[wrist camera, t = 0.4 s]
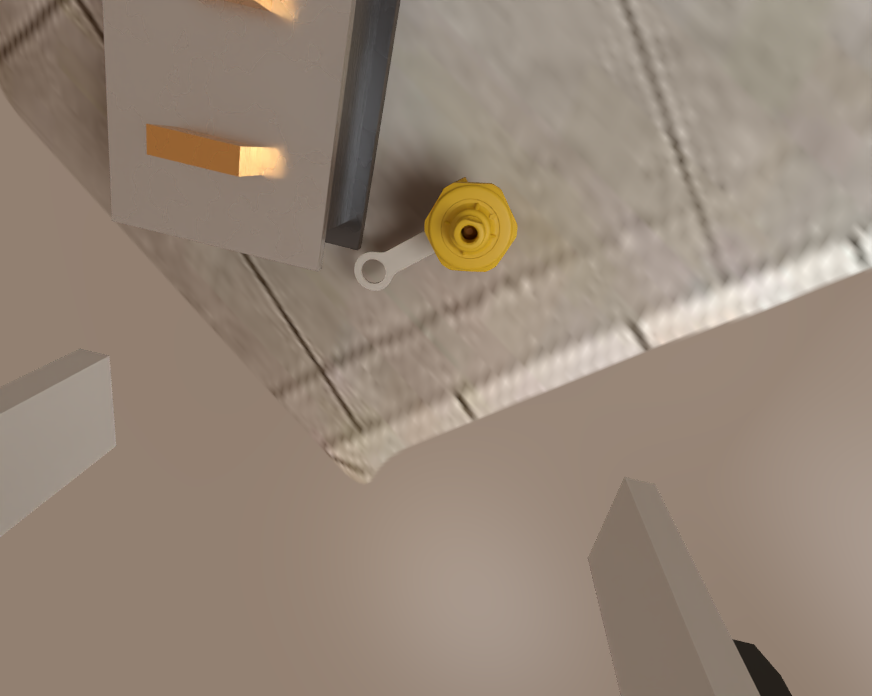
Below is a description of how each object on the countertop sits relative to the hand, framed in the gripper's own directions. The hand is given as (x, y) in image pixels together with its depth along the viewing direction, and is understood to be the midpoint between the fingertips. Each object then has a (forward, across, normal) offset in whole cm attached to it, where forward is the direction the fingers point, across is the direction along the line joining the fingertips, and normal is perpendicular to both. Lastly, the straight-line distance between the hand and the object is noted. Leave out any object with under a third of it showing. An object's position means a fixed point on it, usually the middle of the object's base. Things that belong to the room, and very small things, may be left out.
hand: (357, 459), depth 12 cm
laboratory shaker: (+27, -14, +9) cm, 31 cm away
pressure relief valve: (+27, -1, +1) cm, 27 cm away
